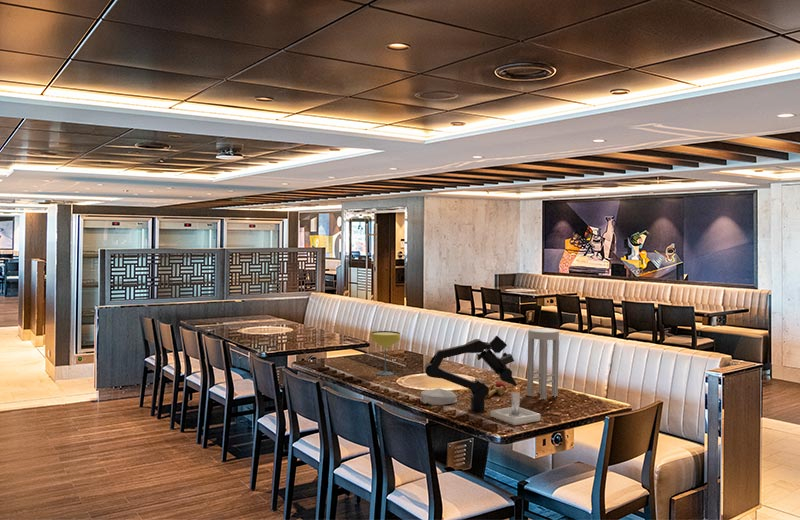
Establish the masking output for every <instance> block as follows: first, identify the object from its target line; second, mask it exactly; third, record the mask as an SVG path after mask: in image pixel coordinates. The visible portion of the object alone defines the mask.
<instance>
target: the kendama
mask: <svg viewBox="0 0 800 520" xmlns="http://www.w3.org/2000/svg"><path fill="white" fill-rule="evenodd" d="M506 390H507V385H506V384H505V383H504V381H497V382H496V383H491V385H490V386H489V393H488V395H486V396H485V398H486V397H488V398H487V399H489V398H491V397H492V396H494V394H495V393H497V394H498V396H503V395H504V393H505V392H506ZM502 394H503V395H502Z"/></svg>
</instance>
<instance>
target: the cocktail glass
mask: <svg viewBox="0 0 800 520" xmlns="http://www.w3.org/2000/svg"><path fill="white" fill-rule="evenodd" d="M370 339H371V341H372V342H374V344H377V345H379V346H381V347H382V348H383V350H384V369H383V371H378V372H376V375H377V376H381V375H390V376H393V374H395V373H394V372H391V371H387V350H388V349H389V347H390V346H393V345H394V344H395V345H396V343H398V342H399V341H400V340H401V332H398V331H393V330H380V331H379V330H378V331H377V330H375V331H372V332H371V333H370Z"/></svg>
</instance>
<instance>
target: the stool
mask: <svg viewBox="0 0 800 520" xmlns="http://www.w3.org/2000/svg"><path fill="white" fill-rule="evenodd" d="M535 340H538V341H539V343H538V345H539V347H538V348H539V349H538V350H539V352H538V370H536V371H535V369H534V368H535V367H534V364H535V363H534V362H535V360H534V359H535ZM549 341H552V357H551V359H552V360H551V362H552V363H551V366H552V367H551V373H548V346H549V345H548V342H549ZM559 347H560V331H559V330H558V329H553V328H530V329H528V333H527V373H526V374H527V375H526V377H527V380H526V395H527V396H528V397H532V396H534V381H536V380H538V389H537V392H538V394H540V395H539V399H540V398H541V399H540V400H543V399H544V400H547V389H548V387H547V386H548V385H547V384H549V383H551V397H552V396H554V397H553V398H557V397H556V396H558V395H559V363H560V362H559V359H560V358H559V355H560V354H559V351H560V348H559ZM537 374H538V376H534V375H537ZM549 377H551V379H547V378H549ZM558 397H559V396H558Z"/></svg>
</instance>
